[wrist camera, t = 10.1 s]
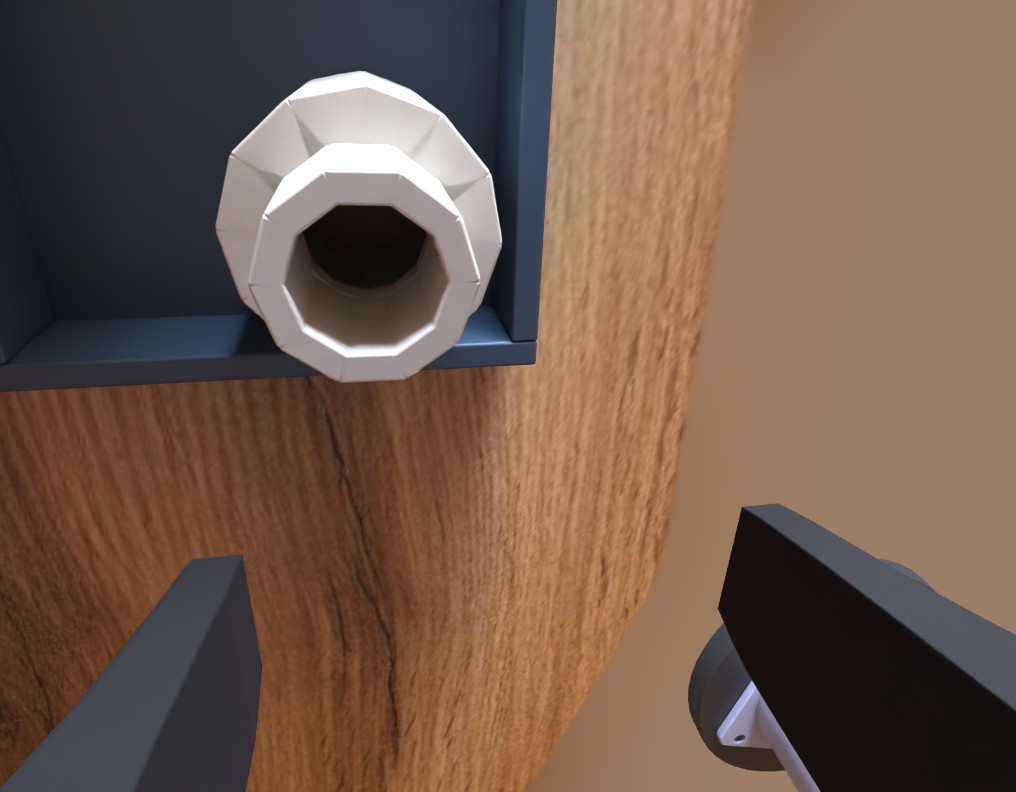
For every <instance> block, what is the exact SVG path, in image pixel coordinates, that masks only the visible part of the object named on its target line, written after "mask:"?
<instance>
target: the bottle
mask: <svg viewBox="0 0 1016 792" xmlns="http://www.w3.org/2000/svg"><path fill="white" fill-rule="evenodd" d="M215 227H216V229H217V230H216V234H217V237H218V240H219V242H220V245H221V248H222V250H223V253H224V256H225V258H226V261H227V264H228V266H229V269H230V272H231V274H232V277H233V280H234V282H235V285H236V288H237V290H238V293H239V296H240V298H241V299H243V302H244V303H245V304H246V305H247V306H248V307H249V308H251V309H252V310H253V311H254V312H255V313H256V314H257V315H259V316H260V317H261V318H262V319H263V320H264V321H265V323H266V325H267V327H268V329H269V331H270V333H271V335H272V337H273V339H274V341H275V344H276V345H277V346H278V347H280V349H281V350H282V351H284V352H286V353H287V354H289V355H291V356H293V357H294V358H296V359H298V360H300V361H301V362H303V363H305V364H307V365H308V366H310V367H312V368H314V369H315V370H317V371H319V372H321V373H323V374H324V375H326V376H328V377H330V378H331V379H333V380H335V381H340V382H342V383H345V382H368V381H392V380H404V379H405V378H406V379H407V378H409V377H411V376H412V375H414V374H415V373H417V372H418V371H419V370H421V369H422V368H424V367H425V366H426V365H428V364H429V363H431V362H432V361H434V360H435V359H436V358H438V357H439V356H441V355H442V354H444V353H445V352H446V351H448V350H449V349H451V348H452V347H454V346H455V345H456V344H457V343H458V341H459V340H460V339H461V337H462V334H463V331H464V328H465V326H466V323H467V320H468V317H469V316H470V315H471V314H472V313H474V312H475V311H476V310H477V309H478V306H480V305H481V302H482V299H483V297H484V294H485V291H486V289H487V286H488V283H489V280H490V278H491V275H492V272H493V269H494V267H495V264H496V261H497V258H498V256H499V253H500V250H501V247H502V244H501V243H502V236H501V230H500V224H499V218H498V212H497V206H496V200H495V194H494V187H493V181H492V176H491V174H490V172H489V170H488V168H487V167H486V166H485V165H484V163H483V162H482V161H481V160H480V158H479V157H478V156H477V155H476V153H475V152H474V151H473V150H472V148H471V147H470V146H469V145H468V143H467V142H466V141H465V140H464V139H463V137H462V136H461V135H460V134H459V132H458V131H457V130H456V129H455V127H454V126H453V125H452V124H451V122H450V121H449V120H448V119H447V117H446V116H445V115H444V114H443V113H441V112H440V111H439V110H437V109H436V108H435V107H433V106H432V105H431V104H429V103H428V102H427V101H425V100H424V99H423V98H422V97H420V96H419V95H418V94H416V93H415V92H414V91H412V90H411V89H409V88H406V87H404V86H401V85H399V84H396V83H394V82H391V81H389V80H387V79H384V78H381V77H378V76H376V75H373V74H371V73H368V72H366V71H355V72H349V73H343V74H336V75H332V76H328V77H322V78H317V79H312V80H311V81H308V82H307V83H306V84H304V85H303V86H302V87H300V88H299V89H298V90H296V91H295V92H294V93H293V94H291V95H290V96H289V97H287V98H286V99H285V100H283V101H282V102H281V103H280V104H279V105H278V106H277V107H276V108H275V109H274V110H273V111H272V112H271V113H270V114H269V115H268V116H267V117H266V118H265V119H264V120H263V121H262V122H261V123H260V124H259V125H258V126H257V127H256V128H255V129H254V130H253V131H252V132H251V133H250V134H249V135H248V136H247V137H246V138H245V139H244V140H243V141H242V142H241V143H240V144H239V145H238V146H237V147H236V148H235V149H234V150H233V151H232V153H231V155H230V156H229V159H228V165H227V170H226V175H225V180H224V185H223V190H222V195H221V200H220V205H219V210H218V215H217V220H216V225H215Z"/></svg>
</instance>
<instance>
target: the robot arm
mask: <svg viewBox="0 0 1016 792" xmlns="http://www.w3.org/2000/svg"><path fill="white" fill-rule="evenodd" d="M718 610H719V612H720V614H721V617H722V619H723V621H724V624H725V626H726V628H727V631H728V633H729V635H730V638H731V640H732V642H733V644H734V646H735V648H736V651H737V653H738V655H739V657H740V659H741V661H742V663H743V665H744V667H745V670H746V671H747V673H748V675H749V676H750V678H751V680H752V681H751V682H750V683H749V685H748V686H747V688H746V689H745V691H744V692H743V694H742V695H741V697H740V698H739V700H738V701H737V703H736V704H735V705H734V707H733V708H732V710H731V711H730V713H729V714H728V716H727V717H726V719H725V720H724V722H723V723H722V725H721V726H720V727H719V729H718V731H717V733H716V736H717V738H718V740H719V742H720V743H721V744H722V745H728V746H741V747H755V748H768V749H773V750H774V752H775V754H776V756H777V757H778V759H779V761H780V762H781V764H782V766H783V767H784V769H785V771H786V772H787V774H788V776H789V777H790V779H791V781H792V782H793V784H794V785H795V787H796V789H797V791H798V792H1016V635H1015V634H1013V633H1011V632H1009V631H1007V630H1005V629H1003V628H1001V627H999V626H998V625H996V624H994V623H992V622H990V621H988V620H986V619H984V618H982V617H980V616H978V615H976V614H975V613H973V612H971V611H969V610H967V609H965V608H963V607H961V606H960V605H958V604H956V603H954V602H952V601H951V600H949V599H947V598H945V597H943V596H941V595H939V594H938V593H936V592H934V591H933V590H931V589H929V588H927V587H925V586H924V585H922V584H920V583H918V582H917V581H915V580H913V579H911V578H910V577H908V576H906V575H904V574H903V573H901V572H899V571H897V570H896V569H894V568H892V567H891V566H889V565H887V564H885V563H884V562H882V561H880V560H878V559H877V558H875V557H873V556H872V555H870V554H868V553H866V552H865V551H863V550H861V549H860V548H858V547H856V546H854V545H853V544H851V543H849V542H848V541H846V540H844V539H843V538H841V537H839V536H837V535H835V534H834V533H832V532H830V531H829V530H827V529H825V528H823V527H822V526H820V525H818V524H816V523H815V522H813V521H811V520H809V519H807V518H806V517H804V516H802V515H800V514H798V513H796V512H794V511H792V510H790V509H788V508H786V507H784V506H782V505H780V504H769V505H759V506H747V507H742V509H741V513H740V517H739V522H738V526H737V530H736V534H735V538H734V543H733V547H732V551H731V555H730V560H729V564H728V568H727V572H726V576H725V581H724V585H723V589H722V593H721V597H720V602H719V607H718ZM261 674H262V662H261V656H260V651H259V645H258V640H257V634H256V628H255V623H254V617H253V612H252V606H251V600H250V595H249V589H248V584H247V578H246V572H245V567H244V561H243V556H242V555H232V556H221V557H211V558H200V559H193V560H192V561H191V562H190V563H189V564H188V565H187V566H186V567H185V568H184V569H183V571H182V572H181V573H180V575H179V576H178V577H177V579H176V580H175V581H174V582H173V584H172V585H171V586H170V588H169V589H168V590H167V592H166V593H165V594H164V596H163V597H162V598H161V600H160V601H159V602H158V603H157V605H156V606H155V607H154V609H153V610H152V611H151V613H150V614H149V615H148V616H147V618H146V619H145V620H144V622H143V623H142V624H141V625H140V627H139V628H138V629H137V630H136V632H135V633H134V634H133V636H132V637H131V638H130V639H129V641H128V642H127V643H126V644H125V646H124V647H123V648H122V649H121V651H120V652H119V653H118V654H117V655H116V657H115V658H114V659H113V660H112V661H111V663H110V664H109V665H108V666H107V667H106V669H105V670H104V671H103V672H102V673H101V675H100V676H99V677H98V678H97V680H96V681H95V682H94V683H93V684H92V686H91V687H90V688H89V689H88V690H87V692H86V693H85V694H84V695H83V696H82V698H81V699H80V700H79V701H78V702H77V703H76V705H75V706H74V707H73V708H72V709H71V710H70V712H69V713H68V714H67V715H66V716H65V717H64V718H63V719H62V720H61V722H60V723H59V724H58V725H57V726H56V727H55V728H54V729H53V730H52V732H51V733H50V734H49V735H48V736H47V737H46V738H45V739H44V740H43V742H42V743H41V744H40V745H39V746H38V747H37V748H36V749H35V750H34V752H33V753H32V754H31V755H30V756H29V757H28V758H27V759H26V760H25V762H24V763H23V764H22V765H21V766H20V767H19V768H18V769H17V770H16V771H15V773H14V774H13V775H12V776H11V777H10V778H9V779H8V780H7V781H6V782H5V783H4V784H3V785H2V786H1V788H0V792H246V787H247V782H248V777H249V772H250V767H251V762H252V756H253V751H254V746H255V740H256V730H257V720H258V709H259V698H260V686H261Z"/></svg>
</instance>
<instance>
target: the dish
mask: <svg viewBox="0 0 1016 792" xmlns="http://www.w3.org/2000/svg"><path fill="white" fill-rule="evenodd" d="M556 11H557V0H0V392H13V391H32V390H51V389H70V388H89V387H109V386H128V385H147V384H166V383H185V382H204V381H223V380H243V379H262V378H281V377H300V376H319V375H324V374H323V373H321V372H319V371H317V370H315V369H314V368H312V367H310V366H308V365H307V364H305V363H303V362H301V361H300V360H298V359H296V358H294V357H293V356H291V355H289V354H287V353H286V352H284V351H282V350H281V349H280V347H278V346H277V345H276V344H275V341H274V339H273V337H272V335H271V333H270V331H269V329H268V327H267V325H266V323H265V321H264V320H263V319H262V318H261V317H260V316H259V315H257V314H256V313H255V312H254V311H253V310H252V309H251V308H249V307H248V306H247V305H246V304H245V303H244V302H243V299H241V298H240V296H239V293H238V290H237V288H236V285H235V282H234V280H233V277H232V274H231V272H230V269H229V266H228V264H227V261H226V258H225V256H224V253H223V250H222V248H221V245H220V242H219V240H218V237H217V234H216V230H217V229H216V227H215V225H216V220H217V215H218V210H219V205H220V200H221V195H222V190H223V185H224V180H225V175H226V170H227V165H228V159H229V156H230V155H231V153H232V151H233V150H234V149H235V148H236V147H237V146H238V145H239V144H240V143H241V142H242V141H243V140H244V139H245V138H246V137H247V136H248V135H249V134H250V133H251V132H252V131H253V130H254V129H255V128H256V127H257V126H258V125H259V124H260V123H261V122H262V121H263V120H264V119H265V118H266V117H267V116H268V115H269V114H270V113H271V112H272V111H273V110H274V109H275V108H276V107H277V106H278V105H279V104H280V103H281V102H282V101H283V100H285V99H286V98H287V97H289V96H290V95H291V94H293V93H294V92H295V91H296V90H298V89H299V88H300V87H302V86H303V85H304V84H306V83H307V82H308V81H311V80H312V79H317V78H322V77H328V76H332V75H336V74H343V73H349V72H355V71H366V72H368V73H371V74H373V75H376V76H378V77H381V78H384V79H387V80H389V81H391V82H394V83H396V84H399V85H401V86H404V87H406V88H409V89H411V90H412V91H414V92H415V93H416V94H418V95H419V96H420V97H422V98H423V99H424V100H425V101H427V102H428V103H429V104H431V105H432V106H433V107H435V108H436V109H437V110H439V111H440V112H441V113H443V114H444V115H445V116H446V117H447V119H448V120H449V121H450V122H451V124H452V125H453V126H454V127H455V129H456V130H457V131H458V132H459V134H460V135H461V136H462V137H463V139H464V140H465V141H466V142H467V143H468V145H469V146H470V147H471V148H472V150H473V151H474V152H475V153H476V155H477V156H478V157H479V158H480V160H481V161H482V162H483V163H484V165H485V166H486V167H487V168H488V170H489V172H490V174H491V176H492V181H493V187H494V194H495V200H496V206H497V212H498V218H499V224H500V230H501V236H502V243H501V244H502V247H501V250H500V253H499V256H498V258H497V261H496V264H495V267H494V269H493V272H492V275H491V278H490V280H489V283H488V286H487V289H486V291H485V294H484V297H483V299H482V302H481V305H480V306H478V309H477V310H476V311H475V312H474V313H472V314H471V315H470V316H469V317H468V320H467V323H466V326H465V328H464V331H463V334H462V337H461V339H460V340H459V341H458V343H457V344H456V345H455V346H454V347H452V348H451V349H449V350H448V351H446V352H445V353H444V354H442V355H441V356H439V357H438V358H436V359H435V360H434V361H432V362H431V363H429V364H428V365H426V366H425V367H424V368H422V369H421V370H434V369H453V368H472V367H492V366H511V365H530V364H535V362H536V349H537V342H536V340H537V335H538V318H539V301H540V284H541V267H542V250H543V233H544V215H545V198H546V181H547V164H548V147H549V130H550V113H551V96H552V79H553V62H554V45H555V28H556Z"/></svg>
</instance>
